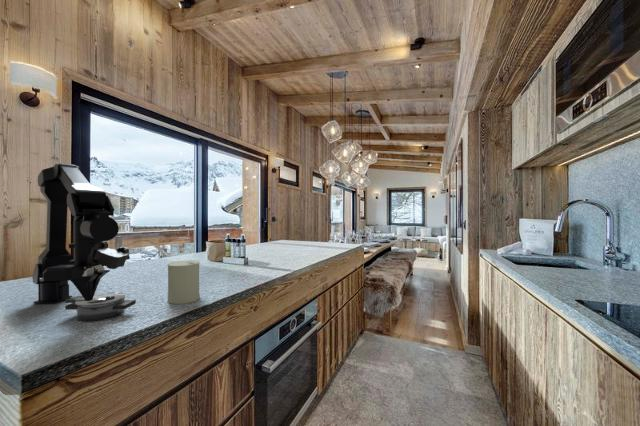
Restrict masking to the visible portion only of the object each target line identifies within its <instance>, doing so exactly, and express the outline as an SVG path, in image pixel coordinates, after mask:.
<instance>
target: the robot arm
mask: <svg viewBox="0 0 640 426" xmlns="http://www.w3.org/2000/svg"><path fill="white" fill-rule="evenodd" d="M37 185H38V187H39V189H40V193H41V194H42V195H43V197H44V198H45V199H46V201H47V206H46V207H47V208H46V209H47V210H46V234H45V235H46V237H45V239H46V240H45V241H46V242H45V249H43V251H42V252H41V253H40V254H39V255H38V257H37V263H36V264H35V266H34V268H33V272H32V275H31V276H32V283H33V284H35V285H38V286H37V287H38V298H37V299H38V300H35V301H33V302H32V303H33V304H57V303H59V302H62V301H65V300H66V299H69V298H73V295H70V284H69V281H70V282H71V283H72V284H73V285H74V287H75V288H76V290H78V292H79V293H80V296H83V298H84V299H85V301H91V300H92V299H93V297H94V295H96V294H95V293H96V291H97V288H98V287H99V286H98V285H99V283H100V281H101V279H102V277H104V276H105V275H106V274H107V273H109V272H110V270H115V269H117V268H120V267H121V268H122V267H124V266H125V263H126V261H127V260H128V261H129V260H131V258H130V257H131V256H130V248H129V247H126V246H120V247H118V248H117V249H116V248H109V243H108V241H111V240H113V239H114V238H115V237H116V236H117V235H118V234H119V230H120V227H119V224H118V223H117V221H116V220H115V218H114V219H113V218H112V217H113V216H115V214H114V211H115V208H114V206H113V204H112V201H111V199H110V197H109V195H108V194H107V193H106V191H105V190H104V189H102V188H101V187H98V186H96V185H92V184H91V183H90V182H89V181H88V179H87V178H86V177H85V175H84V174H83V173H82V172H81V168H80V166H79V165H76V164H70V163H69V164H68V163H60V162H59V163H55V164H54V165H53V166H51V167H47V168H44V169H42V170H41V171H40V173H39V174H38V175H37ZM68 209H69V211H70V213H71V215H72V216H73V243H69V244H68V249H73V256H72V254H71V253H70V252H69V251H68V250H67V231H68V230H67V228H68V224H67V223H68ZM106 268H107V269H106Z"/></svg>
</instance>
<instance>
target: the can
mask: <svg viewBox="0 0 640 426" xmlns="http://www.w3.org/2000/svg"><path fill="white" fill-rule="evenodd" d="M200 264H201V263H200V260H199V261H198V260H177V261H173V262H169V263H168V264H167V280H168V281H167V291H168V292H167V303H168V304H170V305H171V304H172V305H184V304H190V303H194V302H196V301H198V300H199V299H200V298H201V297H200Z"/></svg>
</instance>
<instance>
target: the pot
mask: <svg viewBox="0 0 640 426" xmlns="http://www.w3.org/2000/svg"><path fill="white" fill-rule="evenodd" d="M136 302H137V300H136V299H125V298H124V299H122V300H120V301H117V302H113V303H108V304H102V305H92V306H79V305H75V303H68V304H66V305H65V310H66V311H67V310H70V311H71V310H72V311H73V310H76V320H77V321H78V322H80V323H95V322H96V323H97V322H102V321H106V320H110V319H114V318H117V317H120V316H121V315H123V314H124V313H125V310H126V309H127V308H128V309H129V308H130V307H132V306H134V305H136V304H137V303H136Z"/></svg>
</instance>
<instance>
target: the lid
mask: <svg viewBox="0 0 640 426" xmlns="http://www.w3.org/2000/svg"><path fill="white" fill-rule="evenodd" d="M125 298H126V294H125V293H123V292H107V293H99V294H94V297H93V299H92V300H91V301H85V299H84V298H83V296H82V295H76V296H74V297H73V296H72V297H71V298H68V299H65V300H64V304H71V303H75V305H79V306H92V305H102V304H108V303H113V302H117V301H120V300H122V299H124V300H125Z"/></svg>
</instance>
